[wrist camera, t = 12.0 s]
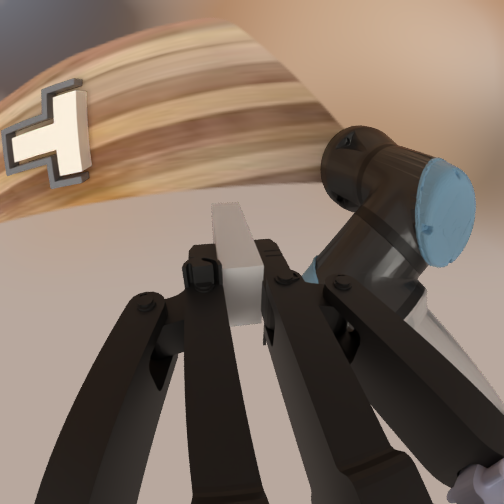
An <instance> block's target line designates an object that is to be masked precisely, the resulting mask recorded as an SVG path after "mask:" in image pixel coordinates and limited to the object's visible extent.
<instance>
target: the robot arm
mask: <svg viewBox="0 0 504 504" xmlns="http://www.w3.org/2000/svg"><path fill="white" fill-rule="evenodd" d="M321 177H322V182H323V185H324V188H325V190H326V192H327V194H328V195H329V196H330V198H331V199H332V200H333V201H335V202H336V203H337V204H339V205H340V206H341V207H342V208H344V209H346V210H348V211H351V212H355V213H354V214H353V215H352V217H351V218H350V219H349V220H348V222H347V223H346V224H345V225H344V227H343V228H342V229H341V230H340V231H339V232H338V234H337V235H336V236H335V237H334V238H333V239H332V241H331V242H330V243H329V244H328V245H327V246H326V248H325V249H324V250H323V251H322V252H321V253H320V254H319V255H318V256H316V257H315V258H314V259H313V262H312V264H311V265H310V266H309V268H308V269H307V270H306V271H305V273H304V274H303V275H302V276H301V275H300V274H299V273H297V272H295V271H293V270H290V268H289V266H288V264H287V262H286V260H285V259H284V257H283V256H282V253H281V251H280V249H279V247H278V246H277V244H276V243H275V242H273V241H272V240H270V239H260V240H253V237H252V235H251V232H250V230H249V227H248V225H247V222H246V220H245V217H244V215H243V212H242V210H241V207H240V205H239V203H238V202H235V203H218V204H211V207H212V227H213V244H202V245H194V246H193V247H192V248H191V249H190V250H189V260H187V261H186V262H185V263H184V264H183V267H182V271H183V278H184V284H185V290H184V291H183V292H181V293H180V294H179V295H176V296H174V297H171V298H168V299H164V297H163V296H162V295H160V294H159V293H156V292H144V293H140V294H138V295H136V296H134V297H133V298H132V299H131V300H130V301H129V303H128V304H127V306H126V308H125V309H124V311H123V312H122V314H121V316H120V317H119V319H118V321H117V322H116V324H115V326H114V328H113V329H112V331H111V333H110V334H109V336H108V338H107V340H106V342H105V343H104V345H103V347H102V349H101V351H100V352H99V354H98V356H97V358H96V360H95V362H94V364H93V365H92V367H91V369H90V371H89V373H88V375H87V377H86V379H85V381H84V383H83V385H82V387H81V389H80V391H79V393H78V395H77V397H76V399H75V401H74V404H73V406H72V408H71V410H70V412H69V414H68V416H67V418H66V421H65V423H64V425H63V428H62V430H61V432H60V434H59V437H58V439H57V442H56V444H55V447H54V449H53V452H52V454H51V457H50V459H49V462H48V465H47V467H46V471H45V473H44V476H43V479H42V481H41V484H40V488H39V491H38V494H37V498H36V500H35V504H137V500H138V495H139V491H140V487H141V483H142V479H143V475H144V472H145V468H146V464H147V460H148V456H149V453H150V449H151V445H152V442H153V438H154V435H155V431H156V428H157V424H158V420H159V417H160V414H161V410H162V407H163V404H164V400H165V397H166V394H167V390H168V387H169V384H170V380H171V377H172V374H173V371H174V368H175V364H176V361H177V358H178V353H181V352H184V379H185V406H186V425H187V439H188V452H189V463H190V473H191V482H192V492H193V498H192V502H191V504H269V502H268V499H267V497H266V494H265V492H264V489H263V486H262V482H261V478H260V475H259V470H258V466H257V461H256V457H255V452H254V448H253V443H252V439H251V434H250V429H249V425H248V420H247V415H246V410H245V405H244V401H243V395H242V390H241V385H240V380H239V375H238V369H237V364H236V359H235V353H234V347H233V342H232V337H231V330H230V326H239V325H249V324H258V323H261V318H262V316H263V319H264V335H263V345H266V341H267V345H268V348H269V352H270V355H271V358H272V361H273V365H274V369H275V372H276V375H277V379H278V382H279V385H280V389H281V392H282V395H283V399H284V402H285V405H286V409H287V412H288V415H289V418H290V422H291V425H292V428H293V432H294V435H295V438H296V442H297V445H298V448H299V451H300V454H301V457H302V461H303V464H304V467H305V471H306V474H307V477H308V480H309V483H310V487H311V492H312V494H311V501H312V504H433V503H432V500H431V498H430V496H429V494H428V492H427V489H426V487H425V485H424V482H423V480H422V478H421V476H420V474H419V472H418V470H417V467H416V465H415V463H414V462H413V460H412V459H411V457H410V456H409V455H407V454H406V453H405V452H402V451H398V450H395V449H393V447H392V446H391V445H390V443H389V442H388V440H387V437H386V435H385V433H384V431H383V429H382V427H381V425H380V423H379V421H378V419H377V417H376V415H375V413H374V411H373V409H372V407H371V405H372V406H373V408H374V409H375V410H376V411H377V413H378V414H379V415H380V416H381V417H382V418H383V420H384V421H385V422H386V423H387V424H388V425H389V427H390V428H391V429H392V430H393V431H394V432H395V434H396V435H397V436H398V437H399V438H400V439H401V441H402V442H403V443H404V444H405V445H406V446H407V448H408V449H409V450H410V451H411V452H412V453H413V455H414V456H415V457H416V458H417V459H418V460H419V461H420V463H421V464H422V465H423V466H424V467H425V468H426V469H427V470H428V471H429V472H430V473H431V474H432V475H433V476H434V477H435V478H436V479H438V480H439V481H440V482H442V483H443V484H445V485H447V486H449V487H451V489H450V490H449V492H448V494H447V500H448V502H450V503H457V504H504V403H503V402H502V401H501V399H500V398H499V396H498V395H497V393H496V392H495V390H494V389H493V387H492V386H491V385H490V383H489V382H488V381H487V379H486V378H485V376H484V375H483V374H482V372H481V371H480V370H479V369H478V367H477V366H476V365H475V363H474V362H473V361H472V360H471V358H470V357H469V356H468V354H467V353H466V352H465V351H464V350H463V348H462V347H461V346H460V345H459V343H458V342H457V341H456V340H455V339H454V337H453V336H452V335H451V334H450V333H449V332H448V331H447V329H446V328H445V327H444V326H443V325H442V324H441V323H440V321H439V320H438V319H437V318H436V317H435V316H434V314H433V313H432V312H431V311H430V310H429V309H428V308H427V290H426V288H425V287H424V286H423V285H422V284H421V283H420V282H419V281H418V277H419V276H420V275H421V273H422V272H423V271H424V270H425V269H426V267H427V266H428V265H430V266H435V267H445V266H447V265H448V263H452V262H453V261H454V260H456V258H457V257H458V256H459V255H460V254H461V252H462V251H463V249H464V247H465V246H466V244H467V242H468V240H469V237H470V235H471V232H472V229H473V225H474V219H475V210H476V201H475V193H474V189H473V186H472V184H471V181H470V179H469V178H468V176H467V175H466V174H465V173H464V172H463V171H462V170H460V169H459V168H457V167H456V166H454V165H452V164H450V163H448V162H446V161H444V159H441V158H436V157H433V156H430V155H427V154H424V153H421V152H418V151H415V150H412V149H408V148H405V147H402V146H398V145H397V144H396V143H395V142H394V141H393V140H392V139H390V138H389V137H388V136H387V135H386V134H385V133H383V132H382V131H380V130H378V129H375V128H372V127H367V126H352V127H349V128H346V129H344V130H342V131H340V132H339V133H338V134H337V135H335V136H334V137H333V139H332V140H331V141H330V142H329V144H328V146H327V147H326V149H325V152H324V154H323V158H322V163H321ZM370 404H371V405H370Z"/></svg>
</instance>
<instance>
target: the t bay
mask: <svg viewBox="0 0 504 504" xmlns="http://www.w3.org/2000/svg"><path fill="white" fill-rule="evenodd" d="M79 86H82V80H80V79H75V78H73V79H70V80H67V81H64V82H61V83H58V84H55V85H52V86H50V87H47V88H44V89H42V90H41V97H42V114H41V115H38V116H35V117H33V118H30V119H27V120H25V121H22V122H20V123H17V124H15V125H13V126H10V127H8V128H6V129H4V130H1V133H2V144H3V153H4V161H5V168H6V174H7V176H9V175H12V174H15V173H18V172H22V171H25V170H28V169H32V168H35V167H39V166H42V165H46V164H47V169H48V175H49V181H50V187H51V189H54V188H58V187H63V186H68V185H73V184H79V183H83V182H84V181H85V180H87V179H88V178H89V173H88V172H84V173H79V174H74V175H69V176H64V177H63V175H62V176H60V172H59V165H58V158H57V154H54V155H50V156H47V157H43V158H40V159H36V160H33V161H30V162H26V163H23V164H20V165H19V162H15V161H14V154H13V145H12V138H14V137H16V136H15V132H16V131H19V130H21V129H24V128H27V127H29V126H32V125H35V124H38V123H41V122H44V121H47V120H50V119H53V118H54V114H53V97H56V94H57V93H60V92H63V91H66V90H69V89H73V88H76V87H79Z"/></svg>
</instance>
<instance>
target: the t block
mask: <svg viewBox="0 0 504 504" xmlns="http://www.w3.org/2000/svg"><path fill="white" fill-rule="evenodd" d="M53 114H54V124H51V125H48V126H45V127H42V128H39V129H36V130H33V131H30V132H27V133H25V134H22V135H19V136H17V137H14V138H12V145H13V154H14V161H15V162H18V161H21V160H24V159H27V158H30V157H33V156H37V155H40V154H43V153H47V152H50V151H54V150H57V158H58V165H59V172H60V176H62V175H67V174H72V173H77V172H82V171H84V170H85V169H87V168H89V167H90V166H92V162H91V154H90V144H89V133H88V118H87V91H78V90H75V91H72V92H69V93H65V94H62V95H59V96H56V97H53Z"/></svg>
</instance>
